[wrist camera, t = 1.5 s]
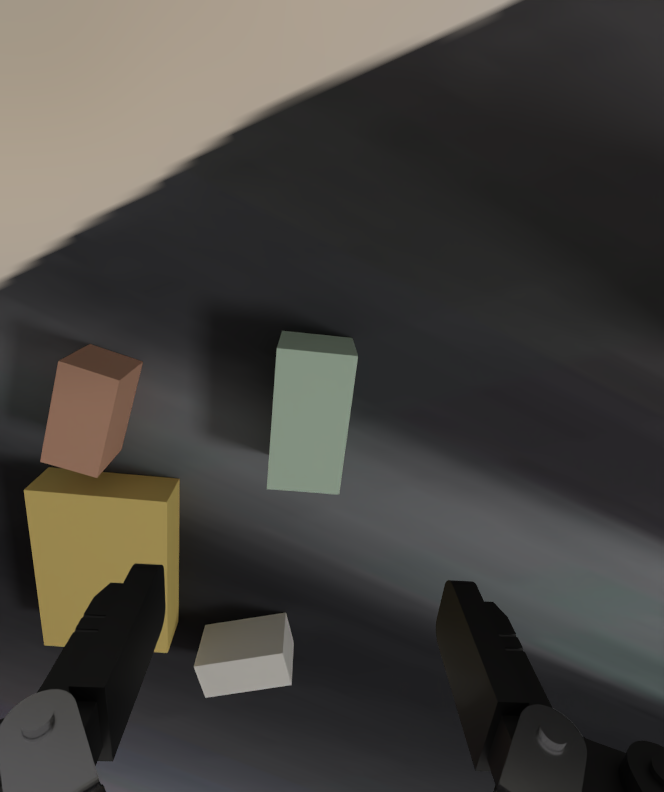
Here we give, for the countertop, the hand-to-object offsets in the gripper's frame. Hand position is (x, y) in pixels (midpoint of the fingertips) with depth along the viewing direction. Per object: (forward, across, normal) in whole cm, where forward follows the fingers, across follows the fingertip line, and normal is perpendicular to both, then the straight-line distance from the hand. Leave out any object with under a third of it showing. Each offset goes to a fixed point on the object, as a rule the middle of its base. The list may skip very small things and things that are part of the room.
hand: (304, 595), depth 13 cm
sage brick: (+15, 0, 0) cm, 16 cm away
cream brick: (+15, +3, +19) cm, 25 cm away
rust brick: (+15, +12, +1) cm, 20 cm away
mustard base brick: (+16, +12, +12) cm, 23 cm away
